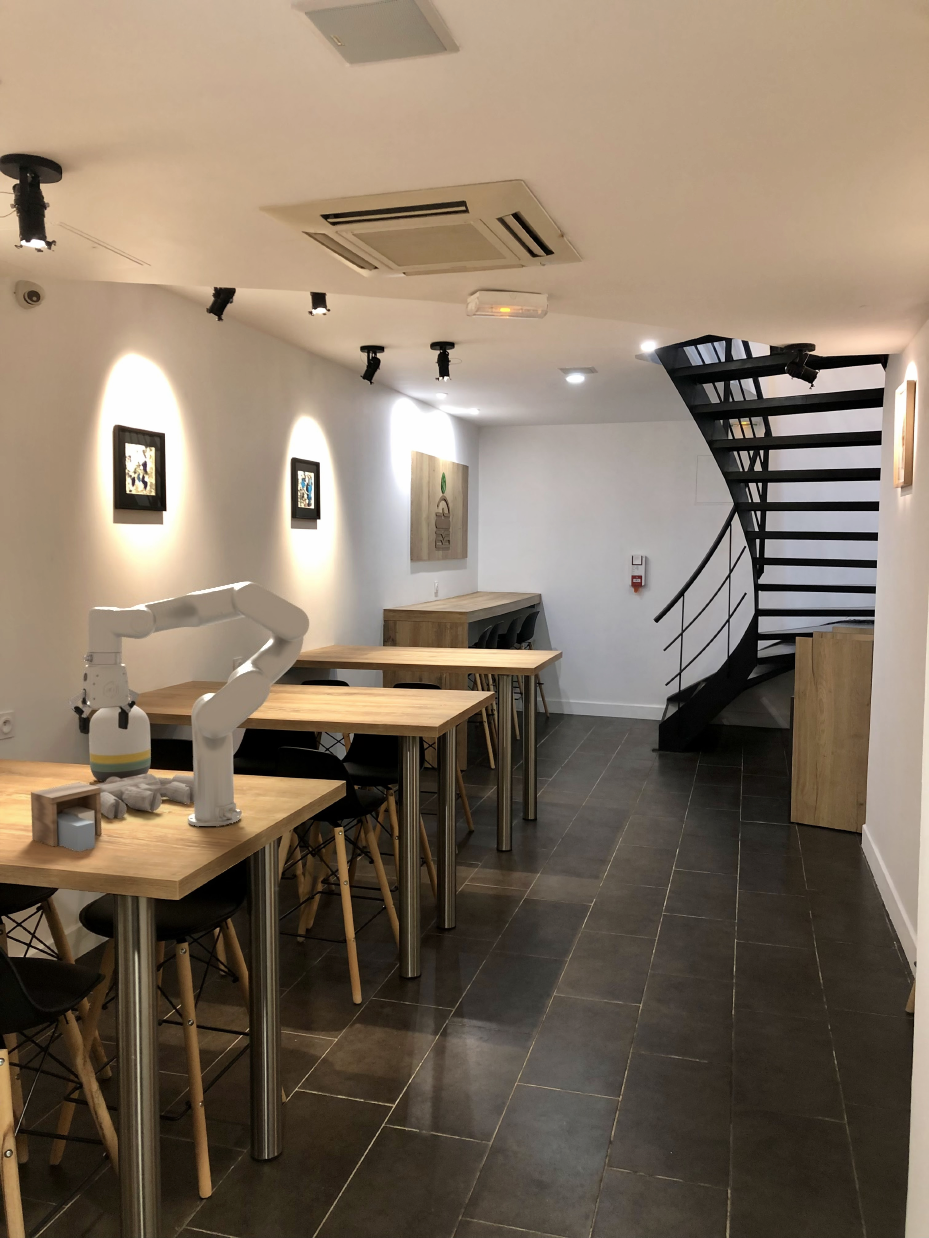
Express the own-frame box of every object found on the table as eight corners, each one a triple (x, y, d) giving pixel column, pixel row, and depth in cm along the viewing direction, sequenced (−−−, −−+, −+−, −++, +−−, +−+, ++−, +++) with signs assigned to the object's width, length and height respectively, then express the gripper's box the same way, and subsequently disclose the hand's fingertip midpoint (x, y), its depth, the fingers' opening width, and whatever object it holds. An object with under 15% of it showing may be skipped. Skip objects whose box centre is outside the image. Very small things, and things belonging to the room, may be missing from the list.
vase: (162, 778, 276) (160, 698, 274) (107, 789, 263) (105, 705, 261) (133, 770, 287) (131, 693, 285) (79, 780, 274) (77, 699, 273)
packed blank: (95, 835, 219) (94, 810, 219) (79, 839, 216) (78, 814, 215) (78, 830, 223) (77, 805, 223) (62, 834, 220) (62, 809, 220)
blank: (94, 848, 210) (94, 822, 209) (78, 852, 206) (77, 826, 206) (64, 837, 218) (63, 812, 217) (47, 842, 214) (47, 816, 214)
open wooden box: (101, 834, 220) (100, 787, 219) (53, 846, 210) (51, 797, 209) (80, 827, 225) (78, 782, 224) (32, 839, 216) (30, 792, 215)
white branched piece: (218, 799, 255) (149, 780, 272) (218, 773, 254) (148, 756, 271) (120, 830, 229) (49, 807, 246) (119, 802, 229) (48, 781, 245)
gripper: (77, 662, 211) (77, 737, 212) (146, 658, 224) (145, 729, 225) (61, 660, 216) (61, 733, 217) (129, 656, 229) (129, 725, 230)
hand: (104, 731), depth 221 cm, fingers open, 9 cm apart
